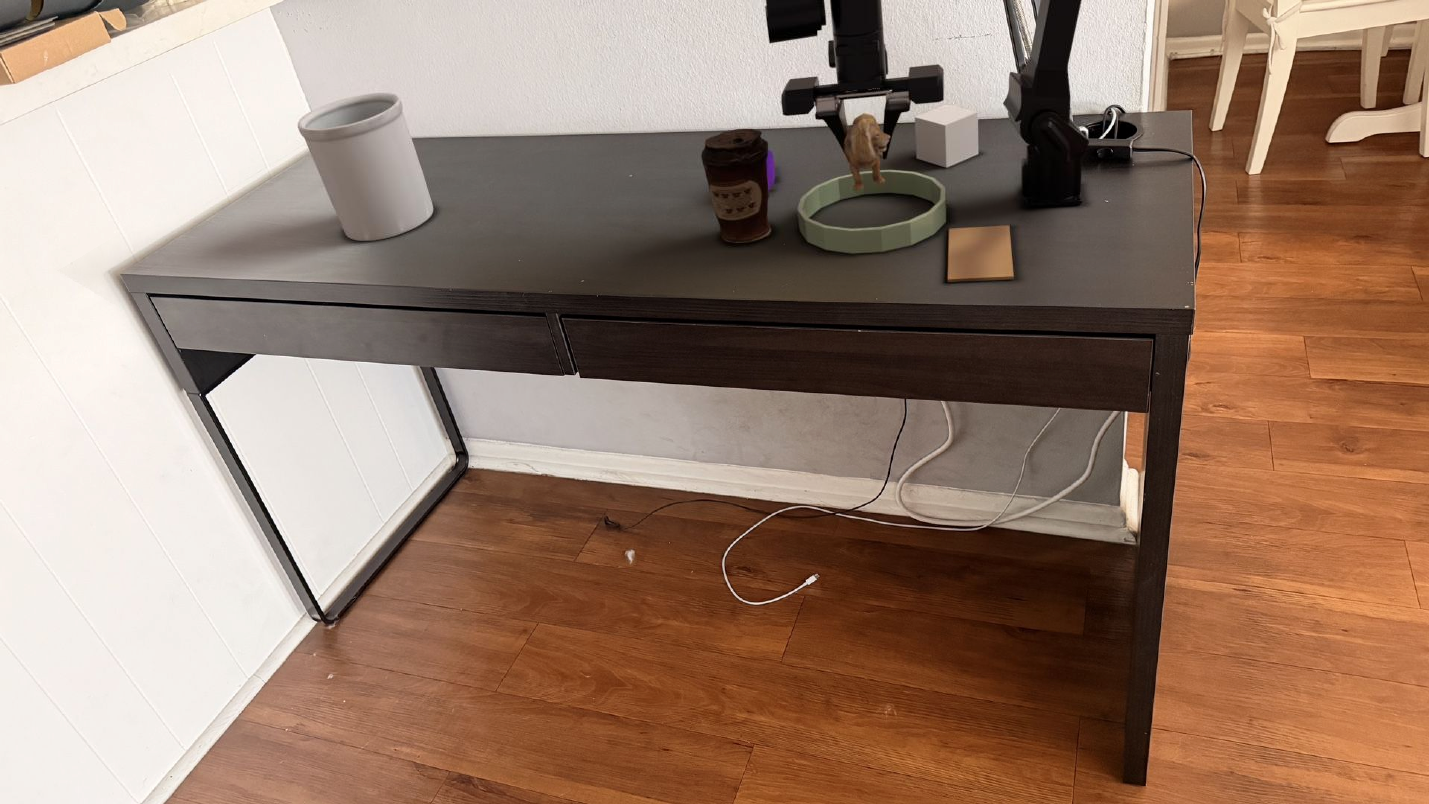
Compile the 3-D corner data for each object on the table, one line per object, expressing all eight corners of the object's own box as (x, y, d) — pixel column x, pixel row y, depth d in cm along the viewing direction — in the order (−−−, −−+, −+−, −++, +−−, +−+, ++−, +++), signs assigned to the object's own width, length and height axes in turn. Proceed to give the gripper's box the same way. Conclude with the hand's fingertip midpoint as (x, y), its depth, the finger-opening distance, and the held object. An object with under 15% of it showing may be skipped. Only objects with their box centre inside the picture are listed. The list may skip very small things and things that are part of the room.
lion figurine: (900, 193, 120) (888, 119, 115) (855, 203, 121) (841, 130, 116) (884, 149, 132) (873, 81, 127) (843, 159, 133) (831, 91, 128)
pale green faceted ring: (947, 187, 135) (946, 165, 133) (945, 248, 120) (944, 225, 119) (810, 196, 139) (807, 175, 138) (792, 256, 125) (789, 234, 123)
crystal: (783, 136, 149) (761, 165, 137) (786, 169, 151) (765, 201, 139) (751, 138, 151) (727, 167, 138) (754, 171, 153) (731, 202, 140)
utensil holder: (372, 251, 147) (329, 133, 138) (322, 233, 157) (278, 121, 147) (455, 211, 155) (419, 97, 146) (403, 196, 165) (366, 88, 155)
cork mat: (1009, 228, 122) (1009, 225, 122) (1013, 279, 112) (1013, 276, 111) (949, 231, 124) (949, 228, 124) (947, 282, 113) (947, 279, 113)
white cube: (978, 154, 142) (978, 111, 139) (946, 168, 140) (945, 125, 137) (947, 145, 147) (946, 103, 144) (916, 158, 145) (914, 116, 141)
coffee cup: (773, 247, 128) (759, 147, 120) (708, 251, 130) (691, 153, 123) (783, 218, 134) (770, 122, 127) (721, 222, 137) (706, 127, 130)
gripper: (942, 1, 121) (946, 129, 129) (786, 19, 126) (800, 141, 134) (941, 27, 112) (945, 163, 120) (773, 45, 117) (789, 175, 125)
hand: (867, 159), depth 125 cm, fingers closed on lion figurine, 4 cm apart
